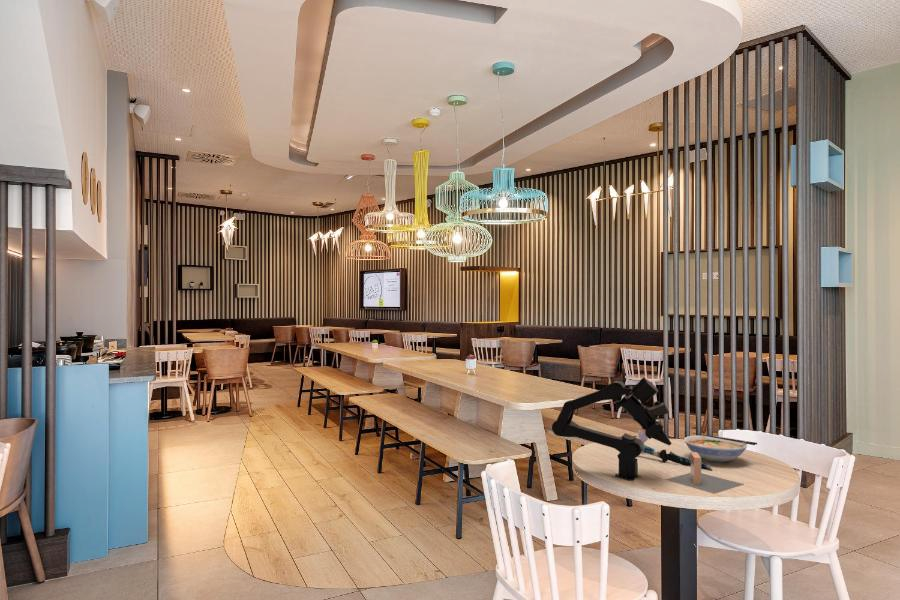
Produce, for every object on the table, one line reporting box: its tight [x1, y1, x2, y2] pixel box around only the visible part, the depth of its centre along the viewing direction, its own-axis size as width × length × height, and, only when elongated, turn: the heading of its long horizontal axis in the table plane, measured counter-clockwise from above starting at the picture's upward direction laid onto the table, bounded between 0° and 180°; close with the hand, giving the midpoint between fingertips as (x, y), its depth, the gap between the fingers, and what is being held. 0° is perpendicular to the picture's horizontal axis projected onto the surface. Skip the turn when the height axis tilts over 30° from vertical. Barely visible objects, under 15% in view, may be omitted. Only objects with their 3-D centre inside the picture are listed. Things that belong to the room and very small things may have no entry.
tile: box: [690, 451, 702, 485], centre depth 194 cm, size 2×8×9 cm, turn 164°
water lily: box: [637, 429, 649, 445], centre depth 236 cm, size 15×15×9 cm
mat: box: [664, 472, 745, 494], centre depth 193 cm, size 18×18×1 cm
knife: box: [641, 443, 714, 472], centre depth 218 cm, size 31×3×4 cm, turn 38°
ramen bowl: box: [683, 432, 758, 463], centre depth 224 cm, size 25×23×8 cm
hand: (670, 444), depth 196 cm, fingers closed
